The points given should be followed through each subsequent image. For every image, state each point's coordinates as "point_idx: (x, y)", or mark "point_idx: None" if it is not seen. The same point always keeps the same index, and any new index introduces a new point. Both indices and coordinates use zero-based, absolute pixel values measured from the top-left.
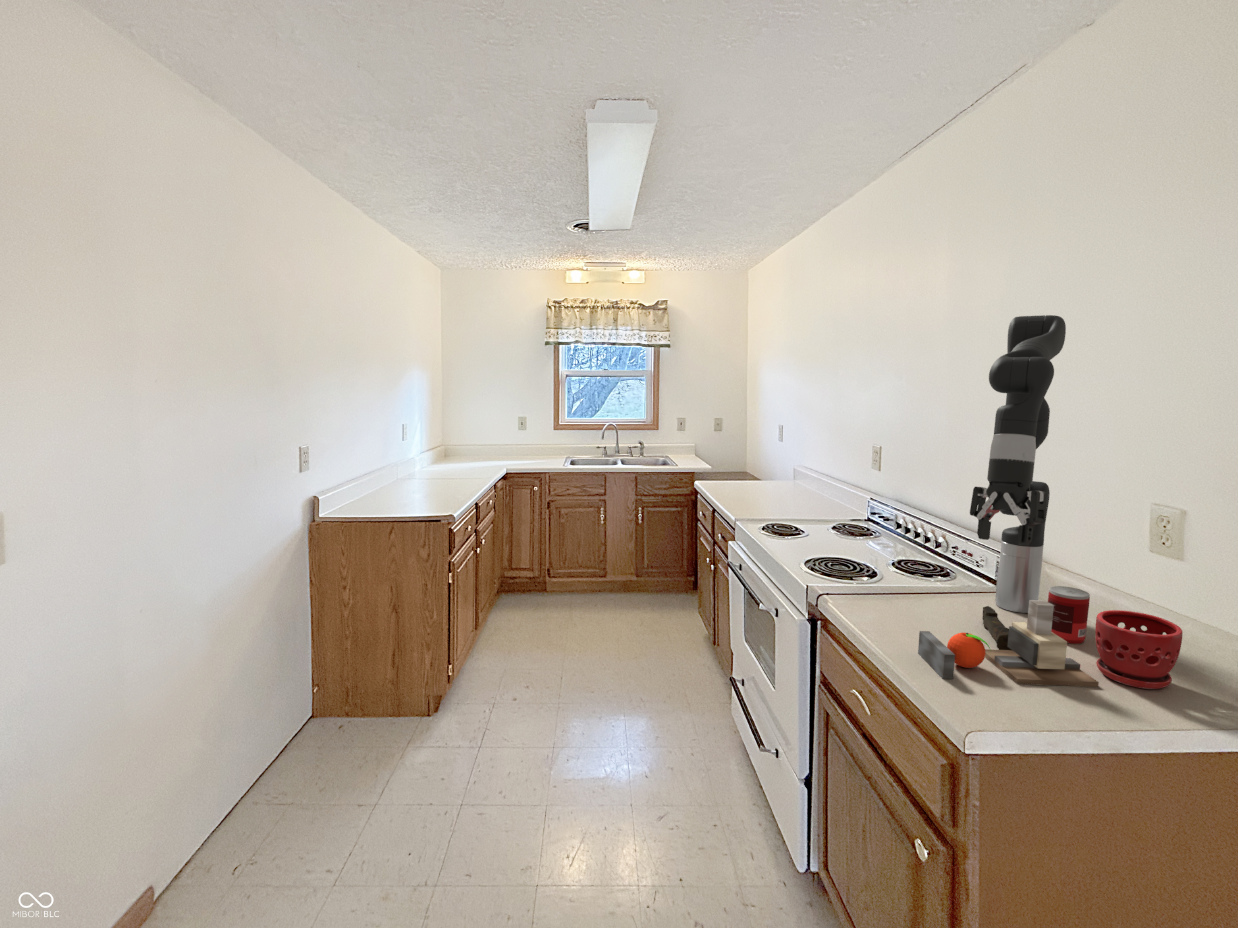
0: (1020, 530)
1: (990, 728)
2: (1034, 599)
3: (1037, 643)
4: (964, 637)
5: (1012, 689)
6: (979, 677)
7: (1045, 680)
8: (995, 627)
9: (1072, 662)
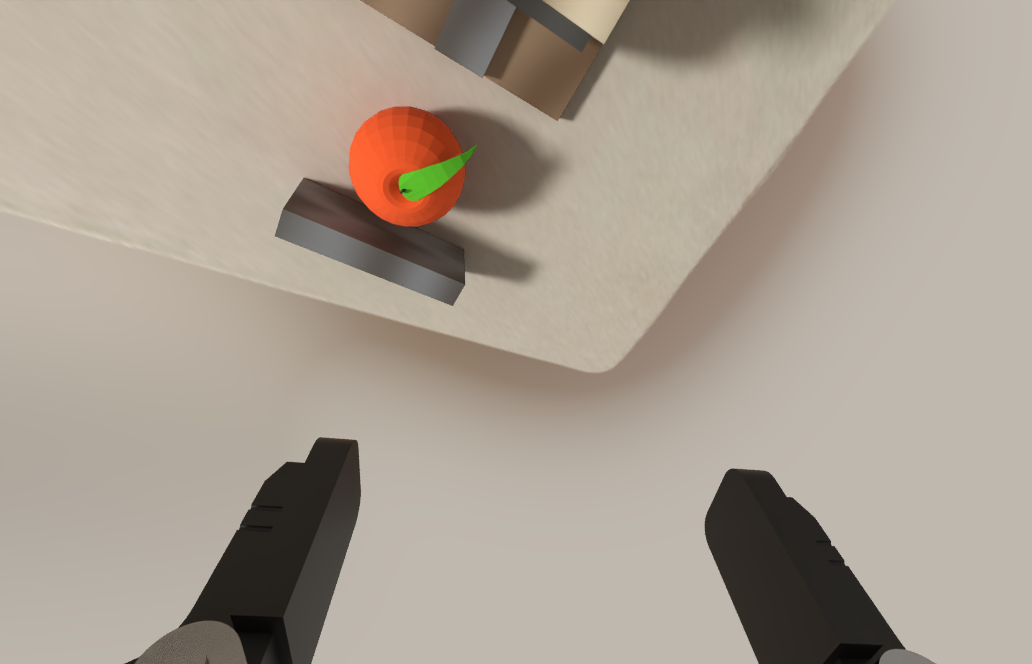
0: (768, 649)
1: (628, 344)
2: None
3: (587, 36)
4: (416, 212)
5: (567, 162)
6: (482, 178)
7: None
8: None
9: None
